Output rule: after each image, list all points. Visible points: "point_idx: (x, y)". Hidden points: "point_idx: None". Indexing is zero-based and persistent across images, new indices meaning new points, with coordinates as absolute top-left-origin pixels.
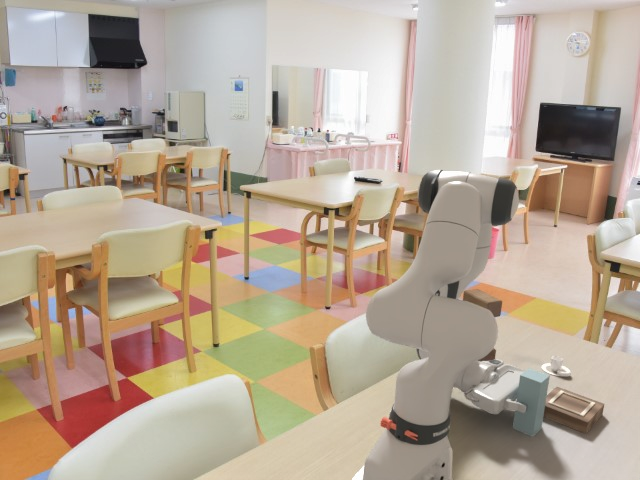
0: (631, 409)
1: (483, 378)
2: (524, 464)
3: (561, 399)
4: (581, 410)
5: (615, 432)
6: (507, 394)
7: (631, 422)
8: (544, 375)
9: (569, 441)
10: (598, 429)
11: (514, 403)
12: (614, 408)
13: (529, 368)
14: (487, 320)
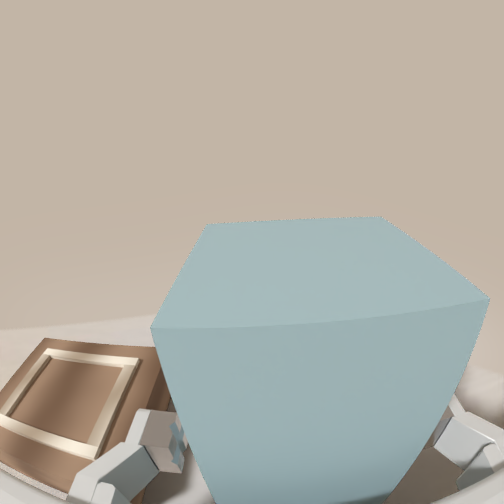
0: (25, 331)
1: None
2: (472, 394)
3: (46, 421)
4: (99, 369)
5: (129, 339)
6: (499, 473)
7: (74, 327)
8: (237, 231)
9: None
10: None
11: (484, 420)
12: (26, 350)
13: (161, 321)
14: None
